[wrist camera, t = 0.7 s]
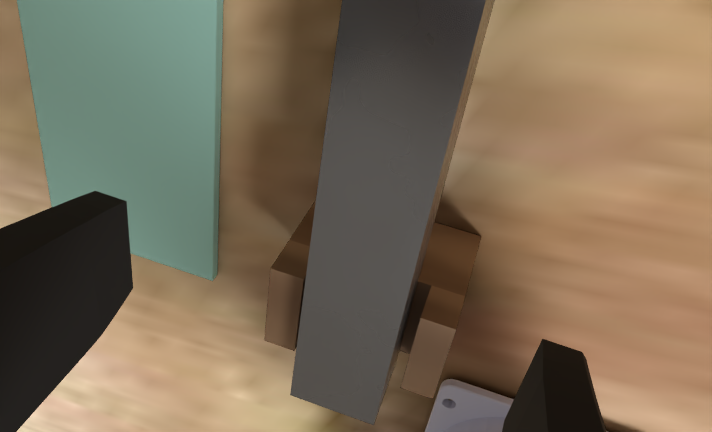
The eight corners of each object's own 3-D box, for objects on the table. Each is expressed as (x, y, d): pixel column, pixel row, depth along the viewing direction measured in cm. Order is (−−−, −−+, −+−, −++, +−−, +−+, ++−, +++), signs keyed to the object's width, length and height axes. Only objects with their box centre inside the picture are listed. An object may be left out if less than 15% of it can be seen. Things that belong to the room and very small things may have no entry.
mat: (217, 274, 26) (212, 281, 26) (61, 222, 27) (55, 227, 27) (232, -422, 14) (223, -426, 14) (-49, -464, 15) (-63, -468, 15)
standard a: (459, 302, 23) (432, 399, 20) (314, 255, 24) (264, 340, 20) (481, 236, 21) (455, 329, 18) (323, 188, 22) (270, 268, 19)
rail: (396, 361, 21) (373, 425, 19) (320, 334, 22) (290, 395, 20) (559, -239, 12) (548, -239, 10) (417, -266, 12) (377, -270, 10)
